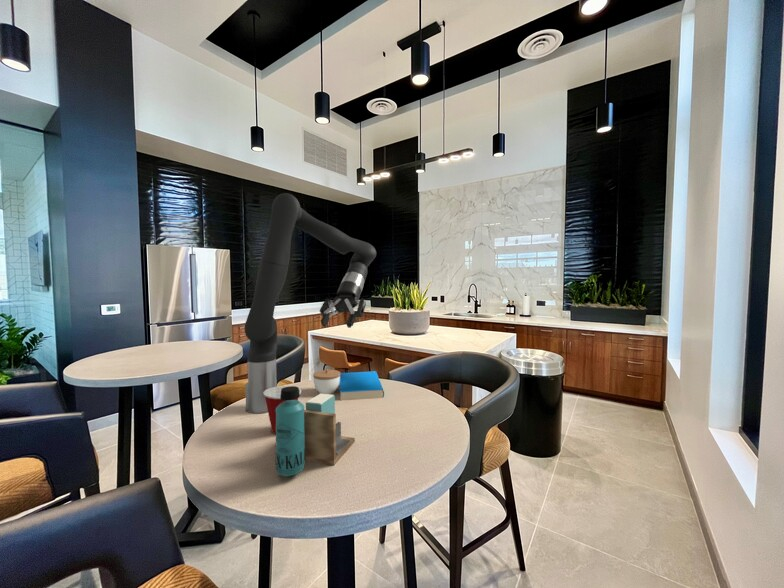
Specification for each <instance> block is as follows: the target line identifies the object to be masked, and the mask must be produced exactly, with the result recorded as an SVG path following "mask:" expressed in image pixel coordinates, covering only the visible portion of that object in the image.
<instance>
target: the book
mask: <svg viewBox="0 0 784 588" xmlns="http://www.w3.org/2000/svg"><path fill="white" fill-rule="evenodd" d="M339 393H340V401H351V400H353V401H354V400H363V399H364V400H366V399H381V398H384V396H385V390H384V388H383V385H382V383H381V380H380V378H379V375H378V373H377V370H376V371H375V370H374V371H358V372H356V371H354V372H340V383H339Z"/></svg>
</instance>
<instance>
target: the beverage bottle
mask: <svg viewBox="0 0 784 588" xmlns="http://www.w3.org/2000/svg"><path fill="white" fill-rule="evenodd" d="M299 389H300V388H299V387H298V386H294V385H292V386H289V387H285V388H282V389H281V396H280V398H281V399H282V400H287V401H284V402H282V403H280V404H279V405H278V406H277V408H276V434H275V441H274V442H275V453H274V454H275V461H274V462H275V470H276V473H277V474H278V475H280V476H283V477H289V476H290V477H291V476H294V475H297V474H299V473H300V472H302V471H303V470H304V468H305V464H306V460H305V433H304V410H305V405H304V403H302V402H301V401H300V400H299V398H300V395H301V394H299ZM297 398H298V400H294V399H297Z"/></svg>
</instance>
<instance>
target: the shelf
mask: <svg viewBox="0 0 784 588" xmlns="http://www.w3.org/2000/svg"><path fill="white" fill-rule="evenodd" d="M341 423H342V422H341V421H340V422H339V421H337V414H336V413H335V414H333V413H325V412H317V411H309V410H306V409H304V433H305V461H308V462H314V463H319V464H325V465H330V466H335V465H336V464H337V463H338V461H339V460H340V459H341V458H342V457H343V456H344V454H346V452H347V451H348V450H349V449H350V448H351V447H352V445H353V444H354V443H355V441H356V438H355V437H350V436H342V424H341Z"/></svg>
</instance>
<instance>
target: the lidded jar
mask: <svg viewBox="0 0 784 588" xmlns="http://www.w3.org/2000/svg"><path fill="white" fill-rule="evenodd" d="M340 373H341V371H339V370H338V369H337V370H336V369H328V368H325V369H323V370H319V371H318V370H317V371H315V372H314V373H313V375H312V377H313V385H314V388H315V390H316V391H317V392H318V394H320V393H321V394H330V395H334V394H335V392H336V391H337V390H338V388H340Z"/></svg>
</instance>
